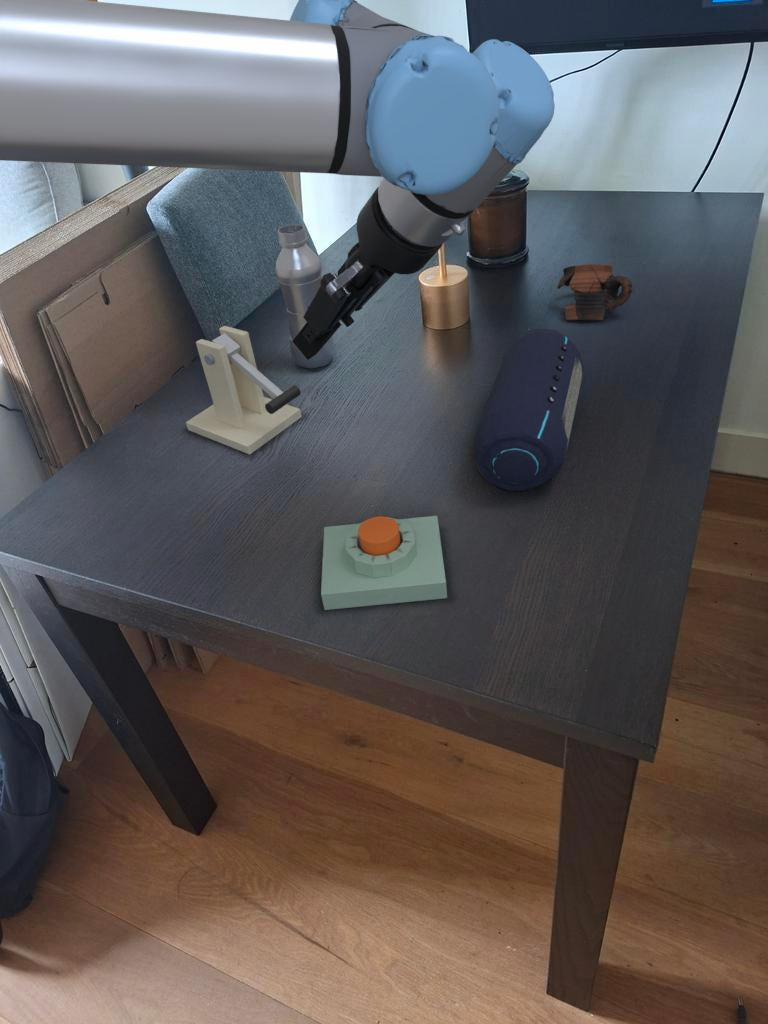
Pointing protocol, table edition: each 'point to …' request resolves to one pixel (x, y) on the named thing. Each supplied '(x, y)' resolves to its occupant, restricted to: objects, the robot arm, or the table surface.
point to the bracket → (236, 400)
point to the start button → (379, 536)
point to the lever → (257, 376)
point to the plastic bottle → (300, 288)
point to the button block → (383, 567)
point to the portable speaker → (530, 411)
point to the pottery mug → (594, 291)
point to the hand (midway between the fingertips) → (304, 347)
